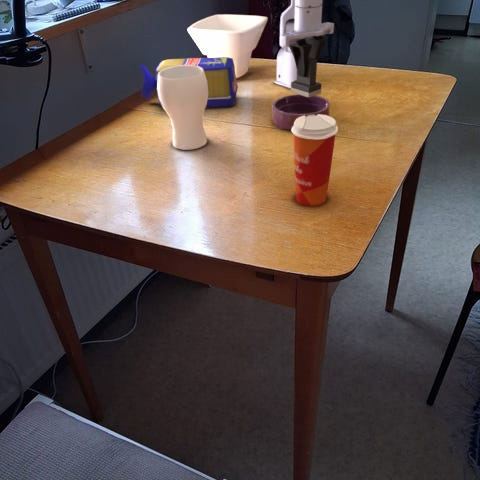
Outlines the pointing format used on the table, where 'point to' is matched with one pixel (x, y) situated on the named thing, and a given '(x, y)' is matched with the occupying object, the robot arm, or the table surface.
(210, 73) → the bread
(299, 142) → the paper cup
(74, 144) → the table surface
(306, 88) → the brush
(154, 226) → the table surface
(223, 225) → the table surface
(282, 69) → the robot arm
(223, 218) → the table surface
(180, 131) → the cup
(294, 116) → the plum bowl
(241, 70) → the bowl
